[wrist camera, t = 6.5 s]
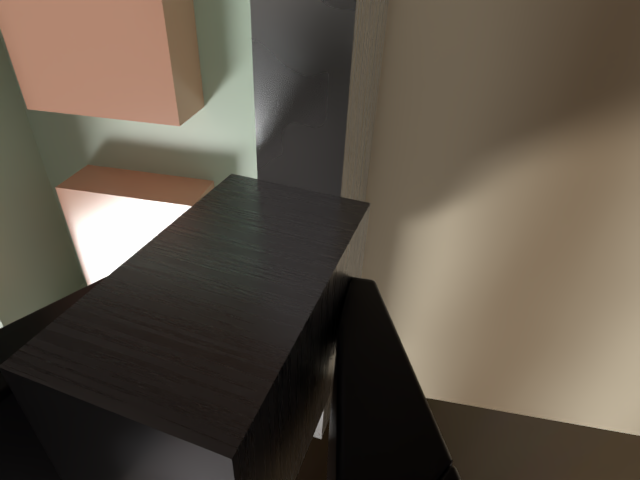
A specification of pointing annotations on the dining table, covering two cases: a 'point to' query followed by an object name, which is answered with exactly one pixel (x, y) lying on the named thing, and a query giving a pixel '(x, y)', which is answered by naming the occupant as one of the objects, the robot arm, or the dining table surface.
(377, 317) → the robot arm
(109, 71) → the tile
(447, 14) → the board
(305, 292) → the scraper
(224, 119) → the tray
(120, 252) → the tile
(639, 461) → the dining table surface
